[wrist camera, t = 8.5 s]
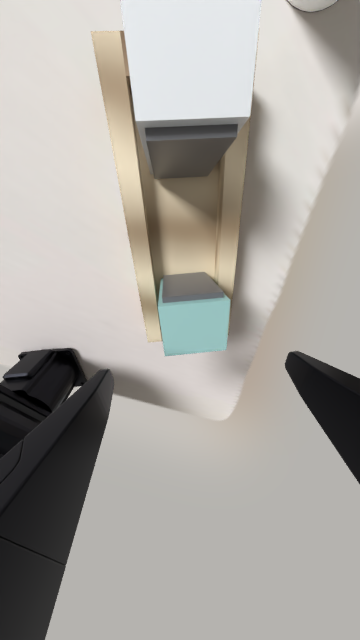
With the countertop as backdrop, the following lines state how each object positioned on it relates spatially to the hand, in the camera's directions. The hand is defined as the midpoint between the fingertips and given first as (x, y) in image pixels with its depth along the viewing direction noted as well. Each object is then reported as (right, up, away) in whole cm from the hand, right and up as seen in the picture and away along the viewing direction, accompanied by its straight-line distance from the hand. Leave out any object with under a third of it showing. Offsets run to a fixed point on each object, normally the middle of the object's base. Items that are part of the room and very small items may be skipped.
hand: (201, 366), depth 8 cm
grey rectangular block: (-1, +15, +3) cm, 16 cm away
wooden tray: (-1, +10, +8) cm, 13 cm away
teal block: (-1, +5, +9) cm, 10 cm away
